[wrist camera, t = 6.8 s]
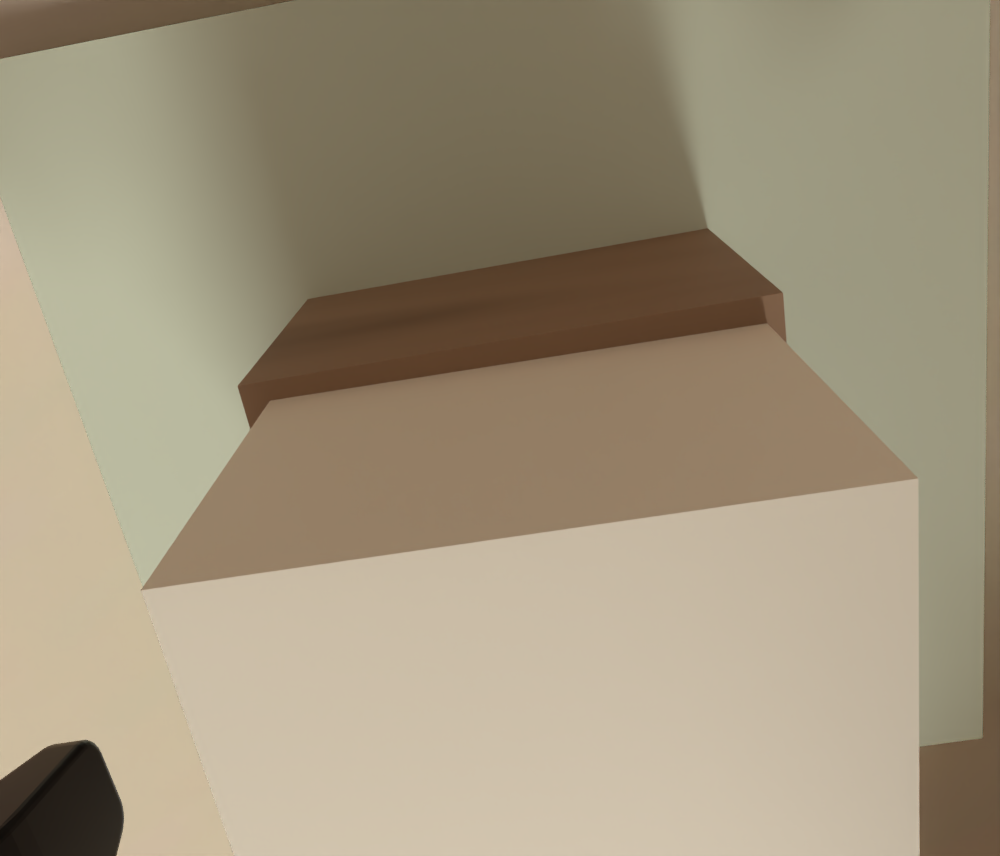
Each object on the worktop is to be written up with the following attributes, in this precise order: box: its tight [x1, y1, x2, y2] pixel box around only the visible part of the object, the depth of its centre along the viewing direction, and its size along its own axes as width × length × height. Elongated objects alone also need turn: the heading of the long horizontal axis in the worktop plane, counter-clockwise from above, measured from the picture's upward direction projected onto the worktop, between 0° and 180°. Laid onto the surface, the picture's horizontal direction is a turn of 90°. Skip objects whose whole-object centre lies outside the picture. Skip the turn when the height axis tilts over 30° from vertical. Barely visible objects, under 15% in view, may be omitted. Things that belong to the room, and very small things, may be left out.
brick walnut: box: [238, 228, 787, 429], centre depth 13 cm, size 6×6×4 cm
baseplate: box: [0, 0, 990, 747], centre depth 15 cm, size 14×14×1 cm
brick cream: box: [141, 323, 920, 856], centre depth 9 cm, size 6×6×4 cm
